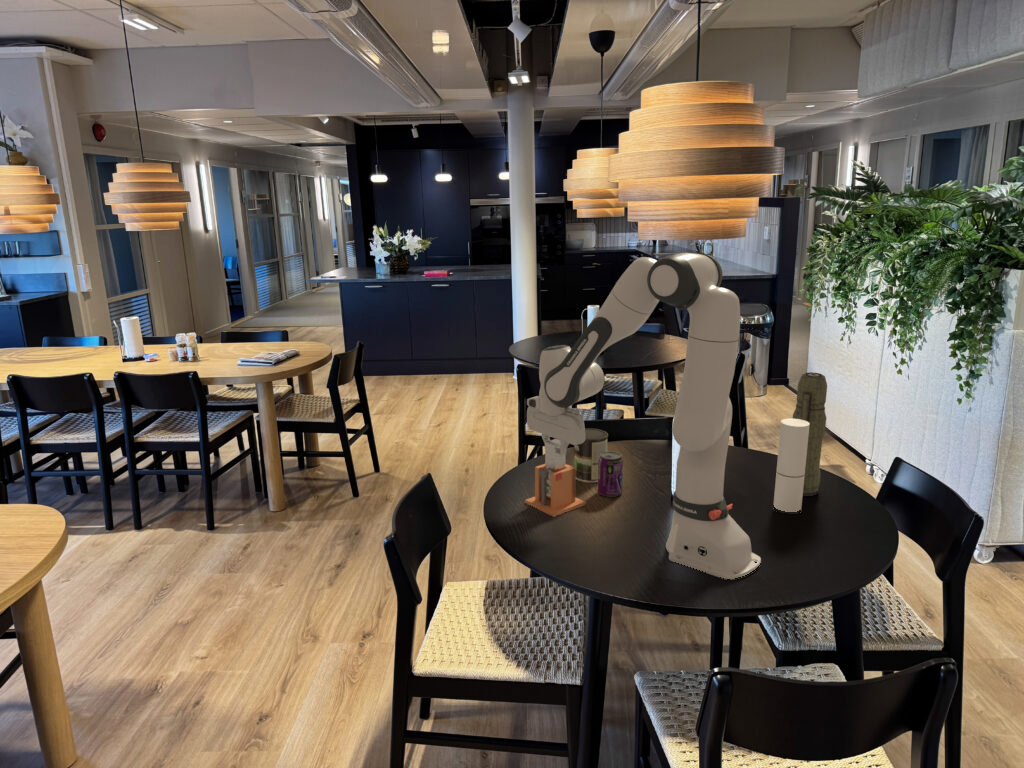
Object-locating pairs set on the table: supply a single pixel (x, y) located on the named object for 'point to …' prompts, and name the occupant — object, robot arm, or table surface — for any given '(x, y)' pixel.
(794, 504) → the cylindrical container
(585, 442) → the coffee can
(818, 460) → the thermos
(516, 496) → the table surface
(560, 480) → the stand base
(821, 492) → the table surface
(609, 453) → the beverage can
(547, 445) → the column
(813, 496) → the table surface
